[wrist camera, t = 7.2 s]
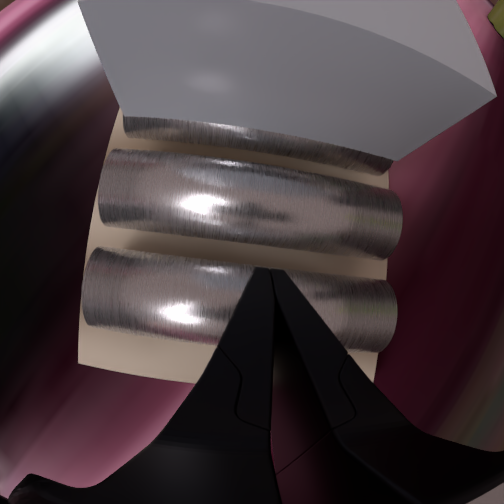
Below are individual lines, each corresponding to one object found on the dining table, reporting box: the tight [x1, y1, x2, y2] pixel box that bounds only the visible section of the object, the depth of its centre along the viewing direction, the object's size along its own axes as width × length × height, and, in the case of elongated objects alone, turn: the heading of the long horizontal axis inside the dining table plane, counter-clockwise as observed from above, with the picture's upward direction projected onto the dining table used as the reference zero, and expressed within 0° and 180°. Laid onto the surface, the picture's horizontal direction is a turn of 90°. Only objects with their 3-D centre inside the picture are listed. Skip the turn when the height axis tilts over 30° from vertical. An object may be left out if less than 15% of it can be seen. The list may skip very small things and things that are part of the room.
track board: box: [78, 108, 389, 383], centre depth 16 cm, size 21×16×1 cm
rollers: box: [81, 115, 403, 353], centre depth 14 cm, size 17×13×4 cm
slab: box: [78, 0, 497, 161], centre depth 9 cm, size 8×12×6 cm, turn 84°
